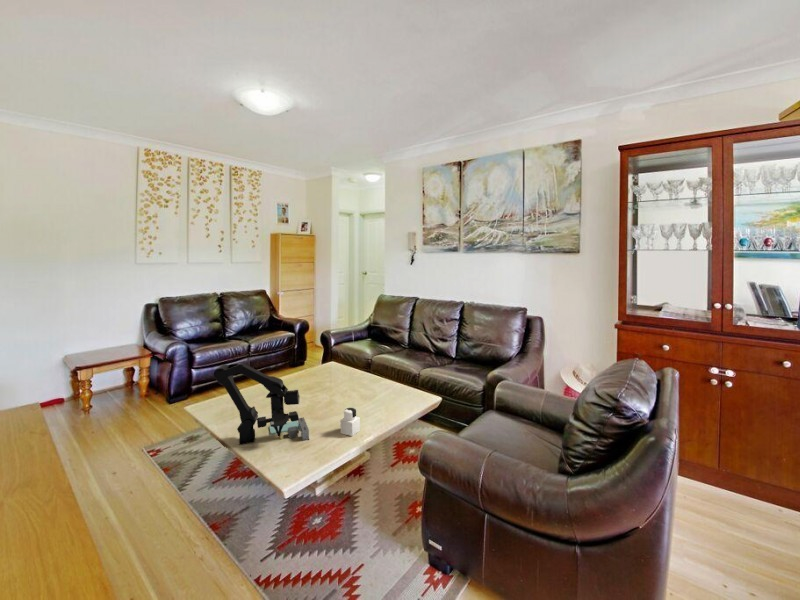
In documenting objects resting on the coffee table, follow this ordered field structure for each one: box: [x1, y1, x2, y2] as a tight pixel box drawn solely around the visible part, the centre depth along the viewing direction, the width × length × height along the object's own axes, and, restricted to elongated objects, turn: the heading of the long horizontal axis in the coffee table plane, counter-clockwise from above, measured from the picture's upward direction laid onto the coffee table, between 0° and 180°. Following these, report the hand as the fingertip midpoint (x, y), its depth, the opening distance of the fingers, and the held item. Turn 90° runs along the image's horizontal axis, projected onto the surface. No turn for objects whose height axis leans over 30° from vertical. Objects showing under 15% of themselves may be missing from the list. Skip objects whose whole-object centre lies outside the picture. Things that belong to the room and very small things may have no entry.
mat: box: [268, 421, 299, 435], centre depth 189 cm, size 14×9×1 cm, turn 114°
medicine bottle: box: [340, 407, 361, 437], centre depth 184 cm, size 7×7×12 cm
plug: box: [279, 427, 300, 440], centre depth 180 cm, size 9×4×4 cm, turn 114°
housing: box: [297, 417, 310, 441], centre depth 182 cm, size 3×15×5 cm, turn 24°
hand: (278, 435), depth 178 cm, fingers closed
